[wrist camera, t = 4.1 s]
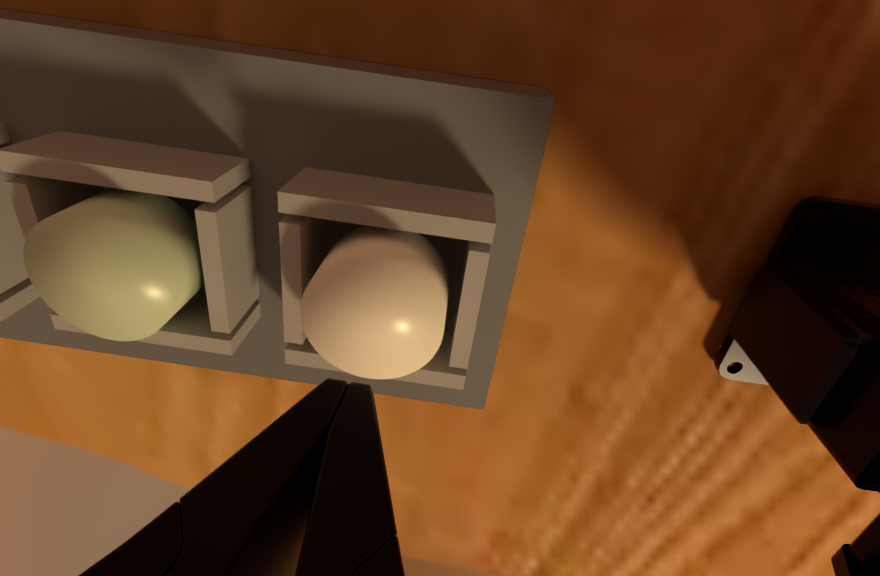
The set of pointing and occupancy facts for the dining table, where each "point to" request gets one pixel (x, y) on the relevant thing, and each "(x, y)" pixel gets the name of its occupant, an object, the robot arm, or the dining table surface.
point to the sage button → (116, 263)
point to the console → (267, 185)
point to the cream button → (377, 303)
